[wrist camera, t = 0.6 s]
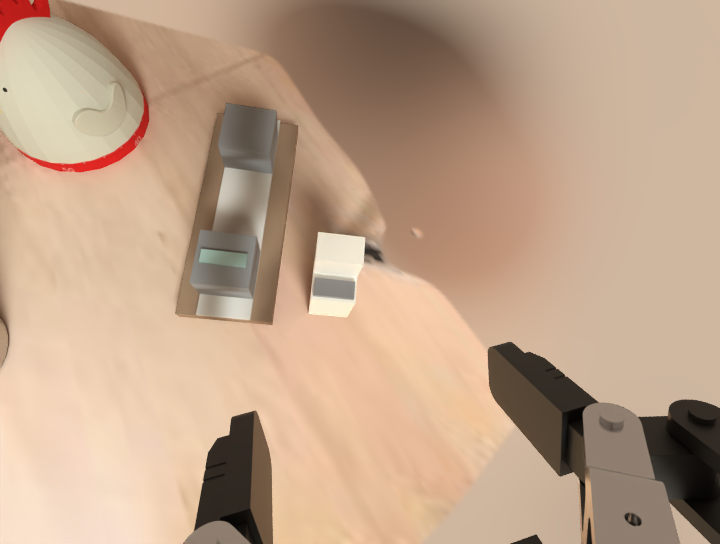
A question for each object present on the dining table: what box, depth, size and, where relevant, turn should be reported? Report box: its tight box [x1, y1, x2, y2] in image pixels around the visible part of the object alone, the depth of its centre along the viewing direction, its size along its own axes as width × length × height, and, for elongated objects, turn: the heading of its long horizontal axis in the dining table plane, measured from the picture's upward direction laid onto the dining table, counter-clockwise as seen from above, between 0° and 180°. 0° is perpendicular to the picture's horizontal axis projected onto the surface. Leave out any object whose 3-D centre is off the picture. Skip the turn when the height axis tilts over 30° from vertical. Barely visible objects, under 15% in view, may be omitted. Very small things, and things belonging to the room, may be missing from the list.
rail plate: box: [175, 103, 298, 325], centre depth 40 cm, size 9×23×6 cm, turn 176°
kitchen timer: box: [0, 0, 149, 172], centre depth 37 cm, size 14×14×15 cm
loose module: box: [308, 232, 365, 317], centre depth 38 cm, size 4×5×10 cm
